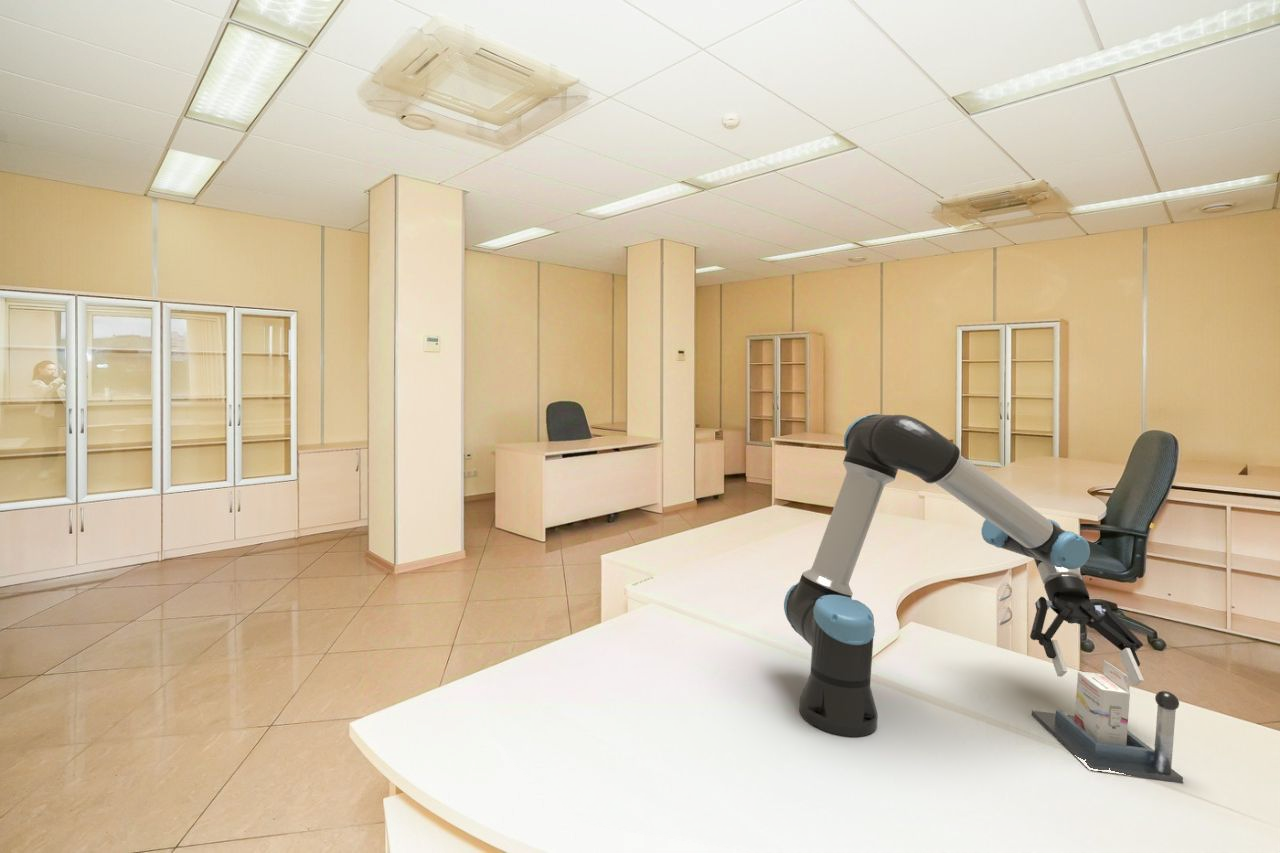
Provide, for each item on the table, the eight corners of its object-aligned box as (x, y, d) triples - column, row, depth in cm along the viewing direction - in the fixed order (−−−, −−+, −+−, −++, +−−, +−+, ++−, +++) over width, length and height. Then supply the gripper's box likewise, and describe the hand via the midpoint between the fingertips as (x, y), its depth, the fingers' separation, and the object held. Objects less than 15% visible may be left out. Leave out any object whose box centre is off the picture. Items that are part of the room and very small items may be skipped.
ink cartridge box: (1071, 727, 118) (1076, 655, 118) (1098, 730, 117) (1104, 658, 117) (1098, 750, 110) (1103, 673, 109) (1127, 754, 109) (1133, 677, 108)
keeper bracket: (1089, 770, 104) (1095, 687, 104) (1031, 715, 124) (1036, 645, 124) (1182, 783, 102) (1189, 698, 102) (1108, 724, 122) (1113, 653, 122)
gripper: (1116, 597, 131) (1159, 693, 116) (996, 585, 134) (1024, 677, 120) (1134, 580, 125) (1181, 679, 111) (1009, 568, 129) (1039, 662, 115)
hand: (1100, 678), depth 115 cm, fingers open, 13 cm apart
